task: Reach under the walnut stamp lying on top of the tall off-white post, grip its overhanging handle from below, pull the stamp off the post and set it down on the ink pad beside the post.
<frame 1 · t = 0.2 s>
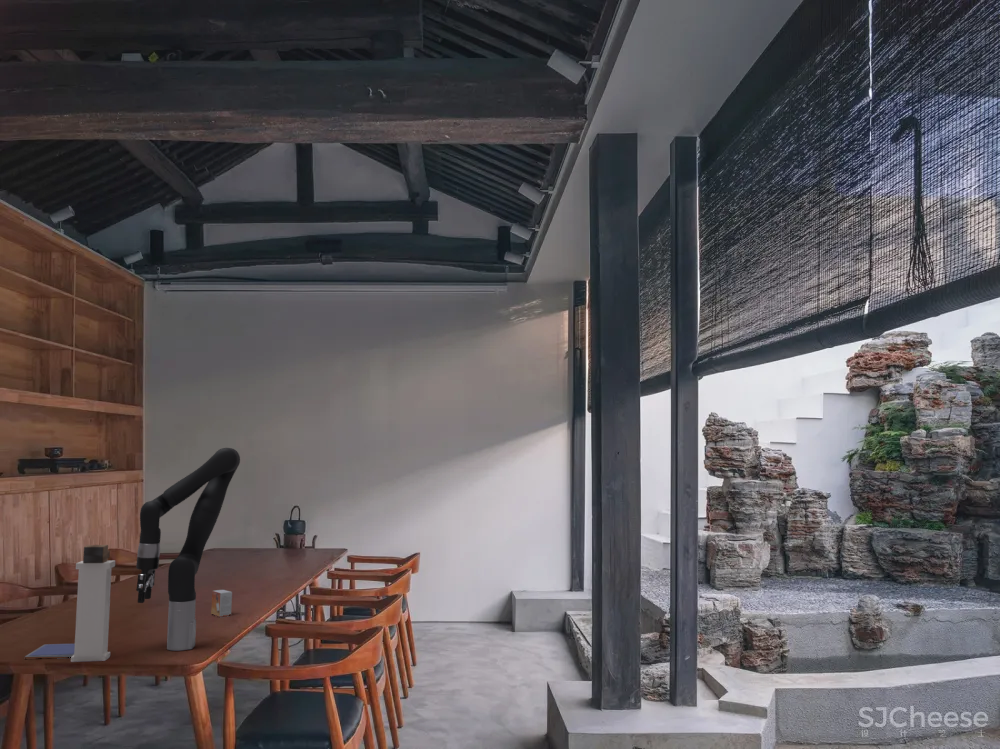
hand: (144, 600, 302), 17 cm above the table, tool pointing down, fingers open, 8 cm apart
tall post: (90, 659, 286), on the table
stamp: (95, 562, 289), point 33 cm above the table, touching tall post
small box: (221, 616, 363), on the table
ink pad: (58, 652, 295), on the table
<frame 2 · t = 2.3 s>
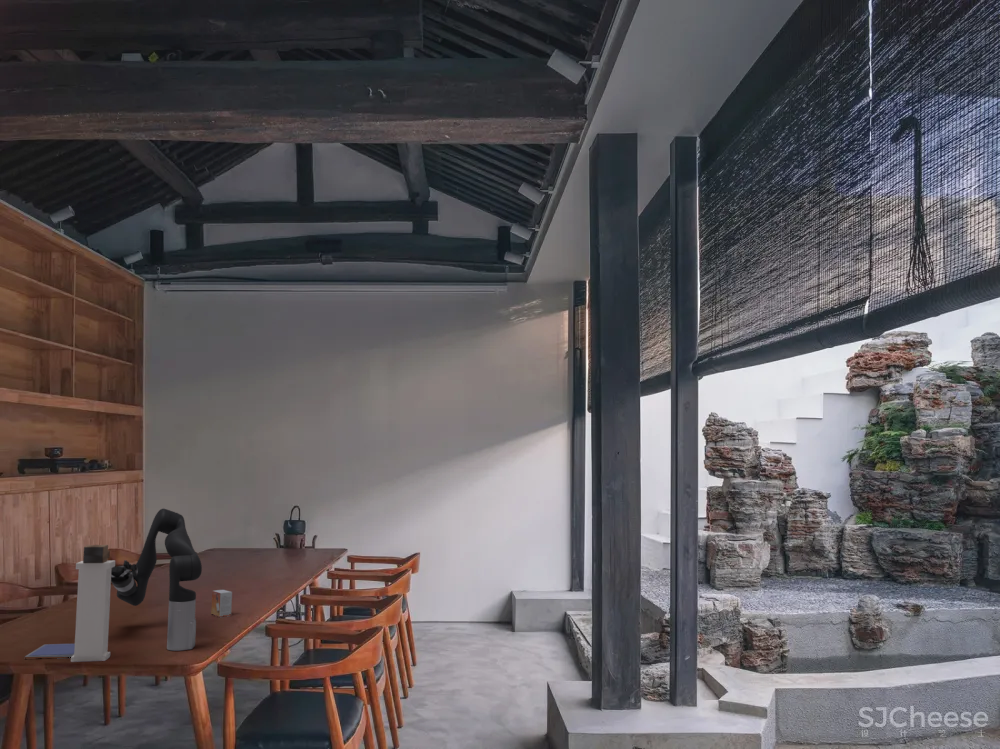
hand: (112, 562, 310), 30 cm above the table, tool pointing upward, fingers open, 8 cm apart
nothing on the table moved.
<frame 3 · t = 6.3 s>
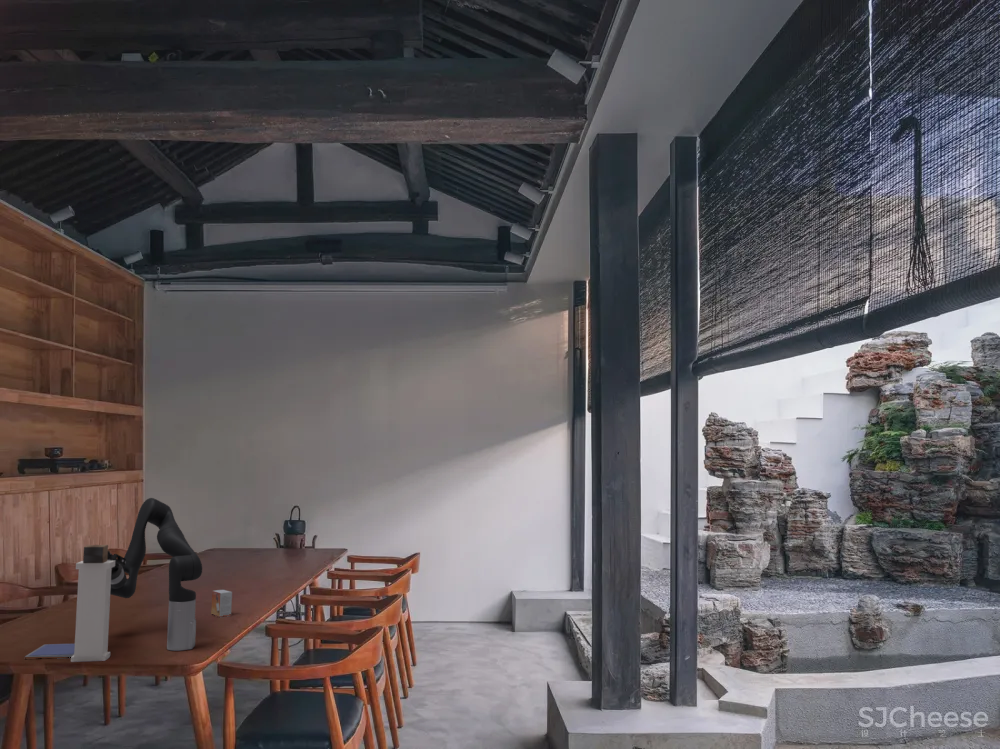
hand: (100, 552, 294), 36 cm above the table, tool pointing upward, fingers closed on stamp, 2 cm apart
stamp: (95, 562, 289), point 33 cm above the table, touching gripper, tall post
everything else where it was.
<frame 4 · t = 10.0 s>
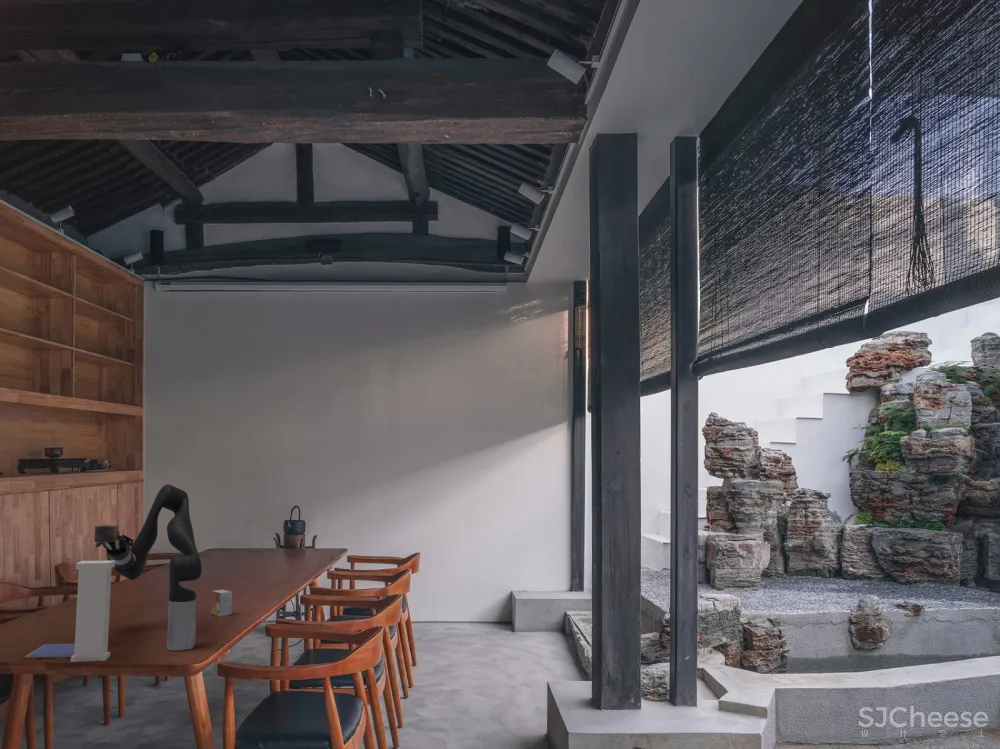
hand: (109, 533, 305), 41 cm above the table, tool pointing upward, fingers closed on stamp, 2 cm apart
stamp: (106, 541, 302), point 39 cm above the table, touching gripper
everything else where it was.
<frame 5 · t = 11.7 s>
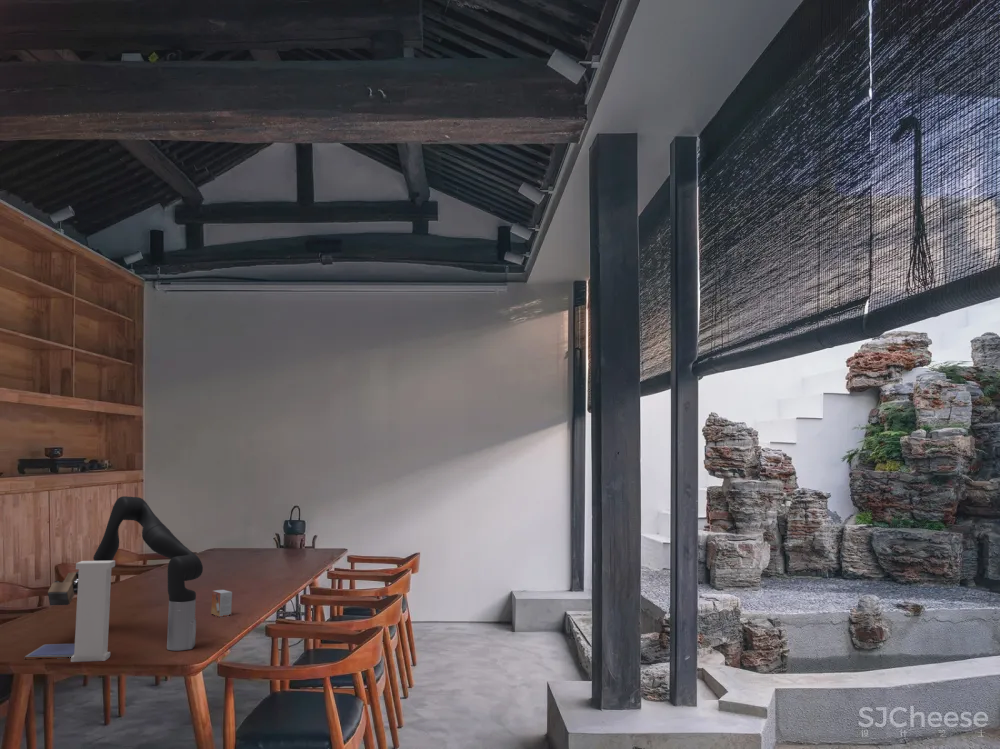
hand: (64, 588, 299), 22 cm above the table, tool horizontal, fingers closed on stamp, 2 cm apart
stamp: (62, 599, 297), point 18 cm above the table, tilted 30°, touching gripper
everything else where it was.
when the fingers open (10 cm above the table, at t = 14.2 s): stamp drops 6 cm, resting on ink pad.
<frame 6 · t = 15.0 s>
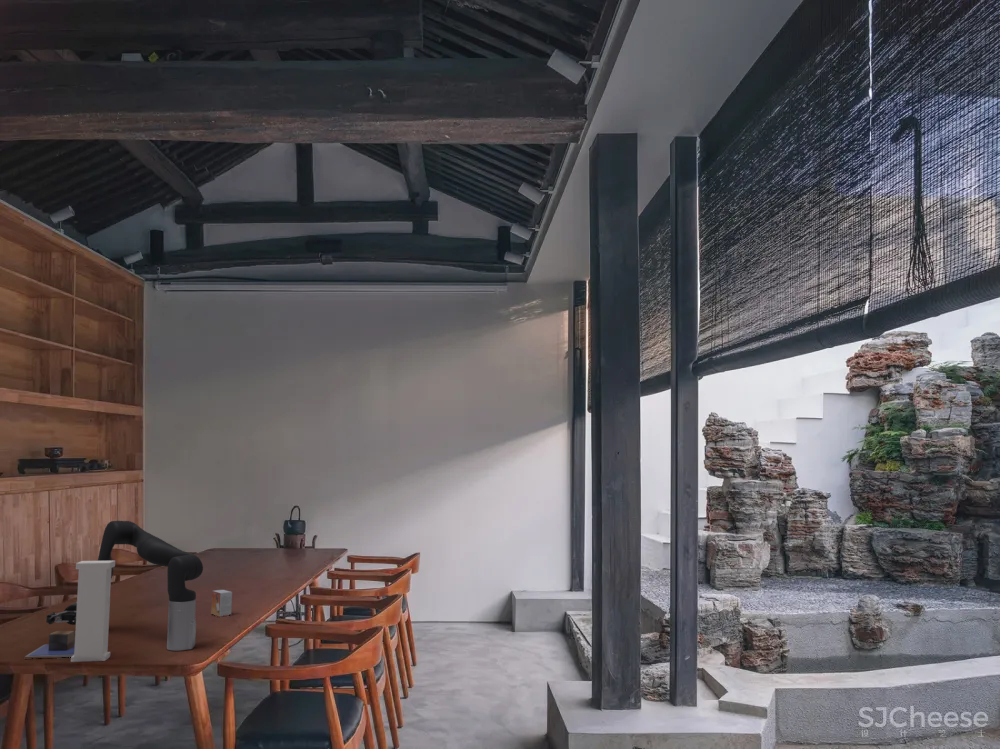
hand: (62, 621, 298), 10 cm above the table, tool horizontal, fingers open, 8 cm apart
stamp: (61, 648, 296), point 1 cm above the table, touching ink pad
everything else where it was.
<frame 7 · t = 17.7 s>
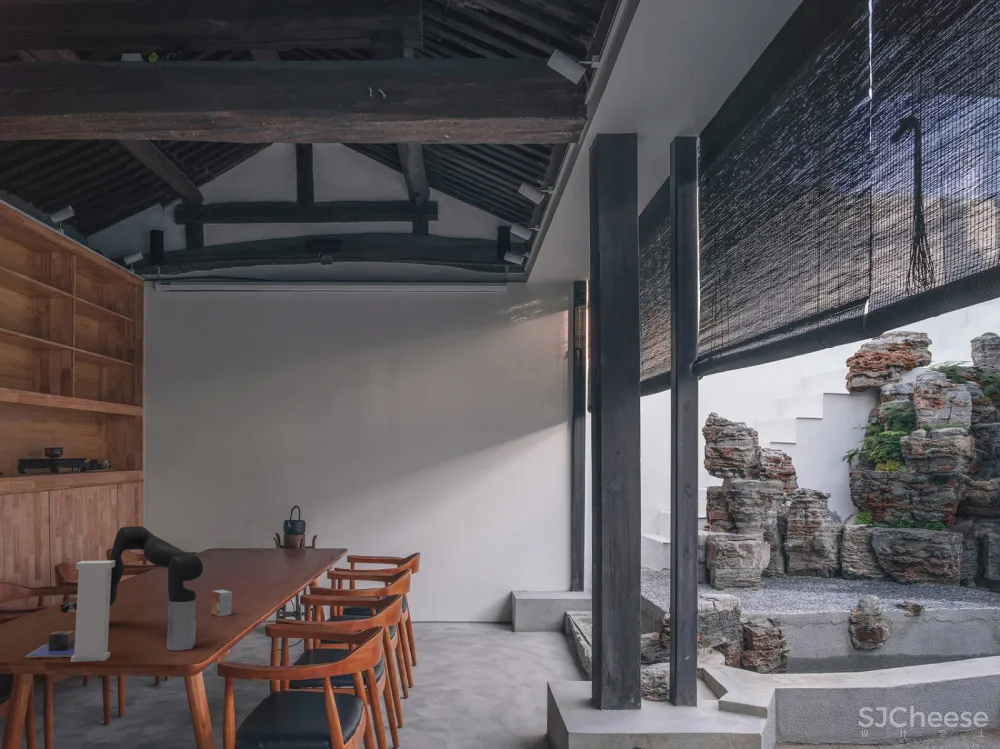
hand: (76, 609, 310), 12 cm above the table, tool horizontal, fingers open, 8 cm apart
nothing on the table moved.
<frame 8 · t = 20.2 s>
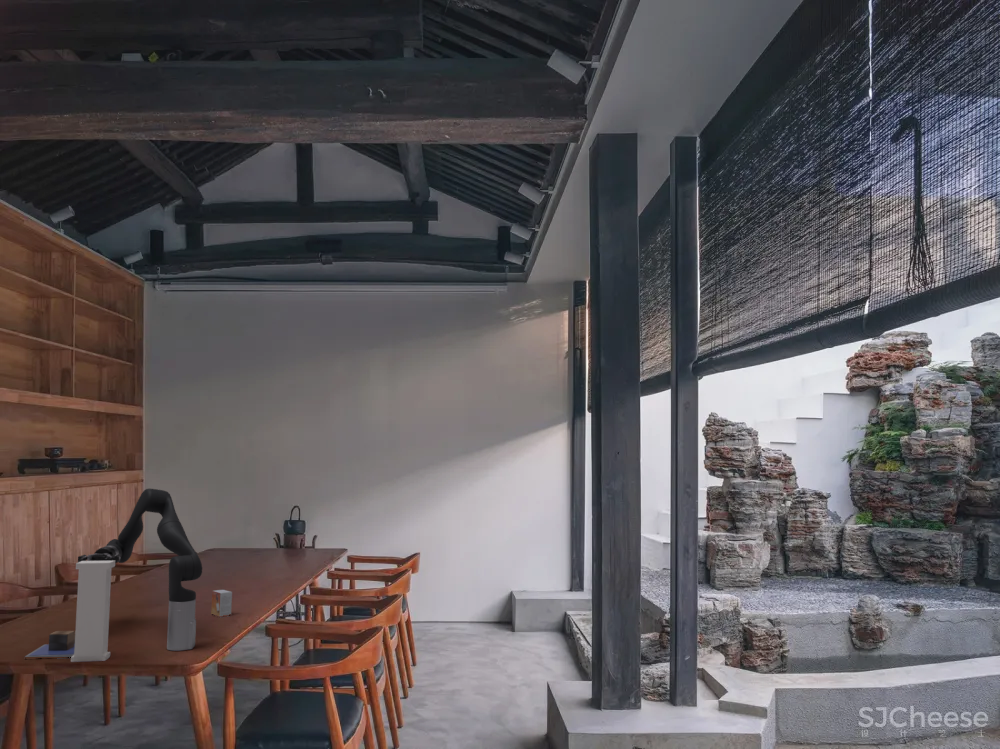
hand: (93, 561, 313), 30 cm above the table, tool horizontal, fingers open, 8 cm apart
nothing on the table moved.
at the end: stamp inside the target area on the ink pad (0.9 cm from its centre), point 1.1 cm above the ink pad's base; the gripper is holding nothing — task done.
